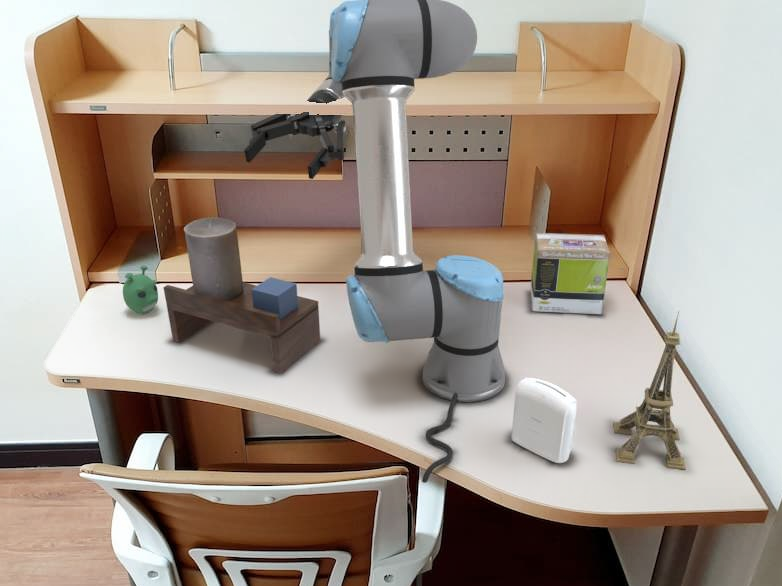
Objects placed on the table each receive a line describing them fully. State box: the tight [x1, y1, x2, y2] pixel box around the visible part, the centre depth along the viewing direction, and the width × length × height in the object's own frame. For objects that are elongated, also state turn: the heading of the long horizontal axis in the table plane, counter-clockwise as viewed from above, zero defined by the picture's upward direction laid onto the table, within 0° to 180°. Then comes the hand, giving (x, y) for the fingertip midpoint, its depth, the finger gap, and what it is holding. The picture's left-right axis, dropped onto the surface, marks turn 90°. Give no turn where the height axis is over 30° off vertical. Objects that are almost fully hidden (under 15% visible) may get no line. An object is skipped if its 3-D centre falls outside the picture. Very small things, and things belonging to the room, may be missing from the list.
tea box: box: [530, 232, 611, 315], centre depth 164 cm, size 15×10×15 cm
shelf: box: [163, 281, 321, 374], centre depth 149 cm, size 26×14×12 cm, turn 63°
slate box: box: [252, 276, 298, 320], centre depth 143 cm, size 6×6×5 cm
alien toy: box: [122, 264, 159, 315], centre depth 159 cm, size 7×8×10 cm
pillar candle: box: [183, 216, 244, 301], centre depth 147 cm, size 10×10×15 cm
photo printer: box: [511, 377, 578, 464], centre depth 121 cm, size 10×4×12 cm, turn 47°
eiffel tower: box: [613, 310, 687, 471], centre depth 118 cm, size 11×11×25 cm
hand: (278, 164), depth 145 cm, fingers open, 13 cm apart
